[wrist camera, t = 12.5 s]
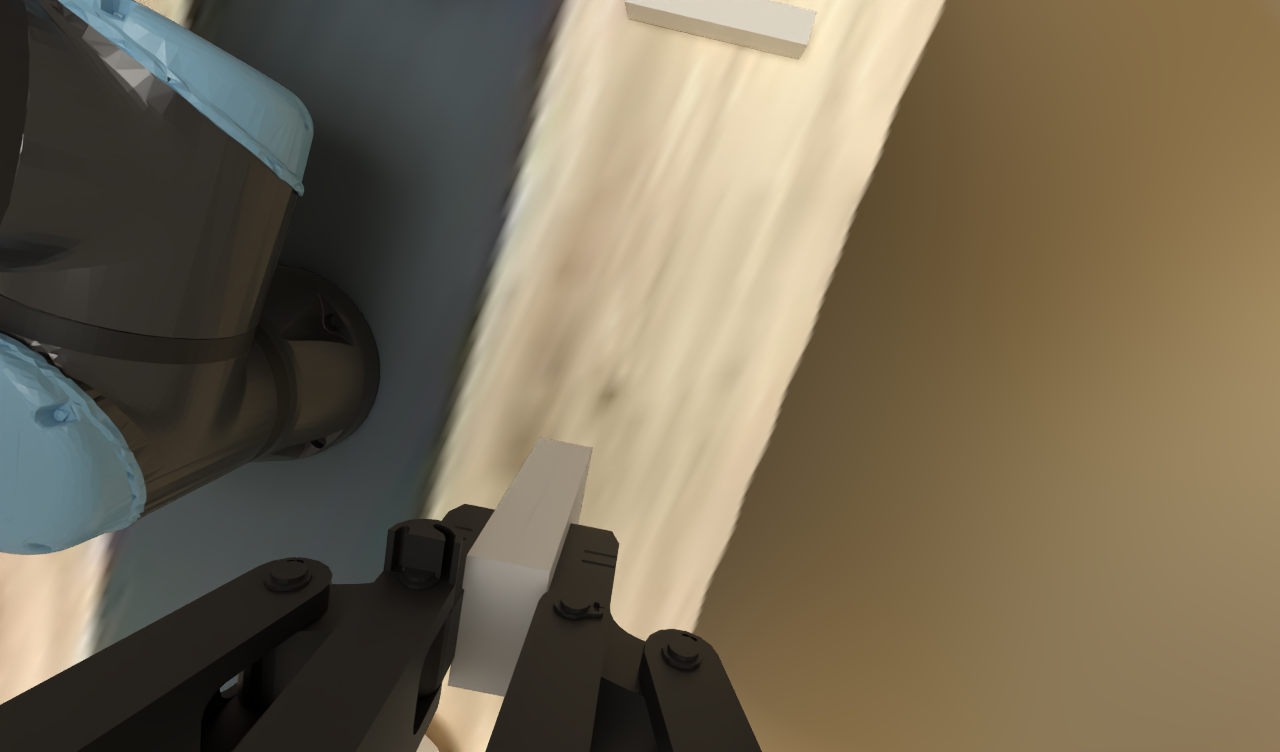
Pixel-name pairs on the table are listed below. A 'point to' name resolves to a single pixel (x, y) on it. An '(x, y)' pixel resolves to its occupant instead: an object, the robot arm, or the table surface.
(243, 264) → the robot arm
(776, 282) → the table surface
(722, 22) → the walled channel
